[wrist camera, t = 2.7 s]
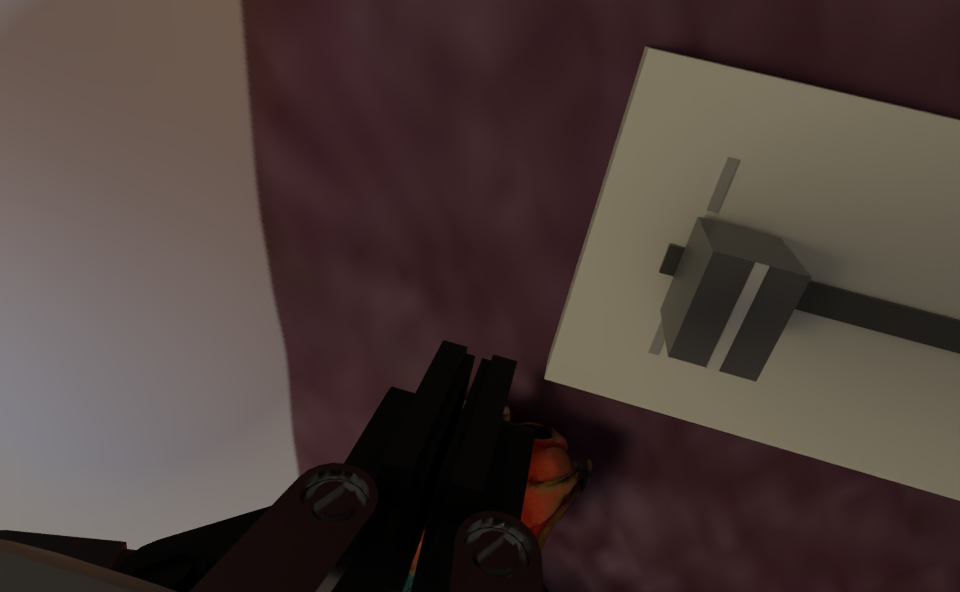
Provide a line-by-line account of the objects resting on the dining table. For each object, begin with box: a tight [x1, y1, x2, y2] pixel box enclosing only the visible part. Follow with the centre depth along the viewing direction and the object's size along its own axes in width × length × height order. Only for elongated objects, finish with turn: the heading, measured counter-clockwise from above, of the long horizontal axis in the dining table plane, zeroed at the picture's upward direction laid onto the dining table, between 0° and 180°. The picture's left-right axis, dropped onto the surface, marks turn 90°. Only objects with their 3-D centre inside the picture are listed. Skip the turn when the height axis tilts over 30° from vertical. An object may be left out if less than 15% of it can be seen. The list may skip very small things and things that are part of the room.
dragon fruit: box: [409, 400, 593, 576], centre depth 28 cm, size 8×8×12 cm
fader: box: [660, 217, 811, 382], centre depth 20 cm, size 4×3×4 cm
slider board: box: [544, 46, 960, 501], centre depth 22 cm, size 14×26×2 cm, turn 78°
